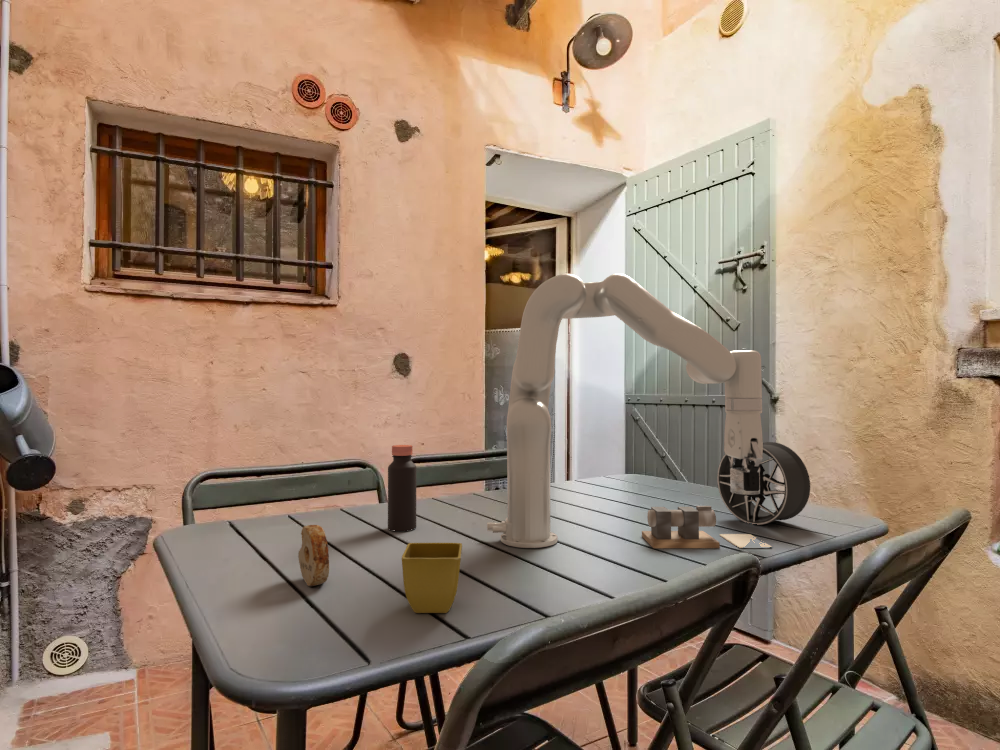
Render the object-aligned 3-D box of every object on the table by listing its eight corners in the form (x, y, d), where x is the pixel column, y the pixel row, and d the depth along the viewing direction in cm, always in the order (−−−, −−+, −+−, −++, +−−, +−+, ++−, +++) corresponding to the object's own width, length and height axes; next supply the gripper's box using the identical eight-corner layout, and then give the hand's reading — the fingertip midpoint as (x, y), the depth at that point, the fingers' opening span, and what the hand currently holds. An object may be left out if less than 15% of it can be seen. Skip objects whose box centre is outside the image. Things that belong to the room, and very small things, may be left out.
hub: (737, 494, 126) (736, 471, 126) (726, 489, 132) (725, 467, 132) (764, 494, 126) (764, 471, 126) (752, 489, 132) (752, 467, 132)
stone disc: (333, 589, 99) (333, 530, 99) (310, 593, 97) (310, 533, 97) (318, 573, 108) (318, 518, 108) (297, 576, 106) (297, 520, 106)
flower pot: (462, 597, 95) (462, 541, 95) (460, 618, 86) (460, 557, 87) (408, 598, 95) (408, 542, 95) (400, 619, 86) (400, 558, 86)
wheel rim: (717, 516, 154) (716, 440, 155) (740, 512, 159) (739, 438, 159) (788, 532, 137) (786, 446, 138) (811, 527, 142) (810, 444, 142)
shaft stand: (653, 548, 124) (653, 511, 124) (641, 536, 134) (641, 502, 134) (721, 548, 124) (721, 511, 124) (705, 536, 134) (704, 501, 134)
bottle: (411, 532, 138) (411, 447, 138) (383, 531, 139) (383, 446, 139) (419, 525, 144) (419, 444, 145) (393, 525, 145) (393, 444, 146)
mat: (739, 548, 124) (739, 547, 124) (719, 535, 134) (719, 534, 135) (772, 548, 124) (772, 547, 124) (750, 535, 135) (750, 534, 135)
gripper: (712, 405, 138) (713, 482, 138) (742, 407, 121) (744, 495, 121) (743, 405, 138) (745, 481, 138) (779, 407, 121) (780, 495, 121)
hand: (744, 487), depth 129 cm, fingers closed on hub, 6 cm apart
